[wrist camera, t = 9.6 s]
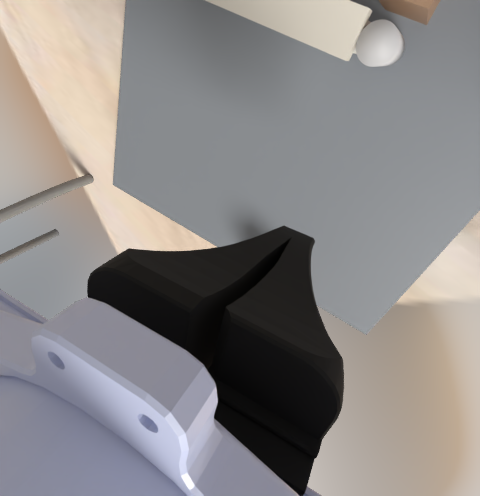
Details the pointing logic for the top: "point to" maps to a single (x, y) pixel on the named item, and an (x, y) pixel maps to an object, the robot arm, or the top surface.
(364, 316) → the flat gray panel
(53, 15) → the top surface
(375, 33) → the gate
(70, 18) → the top surface
